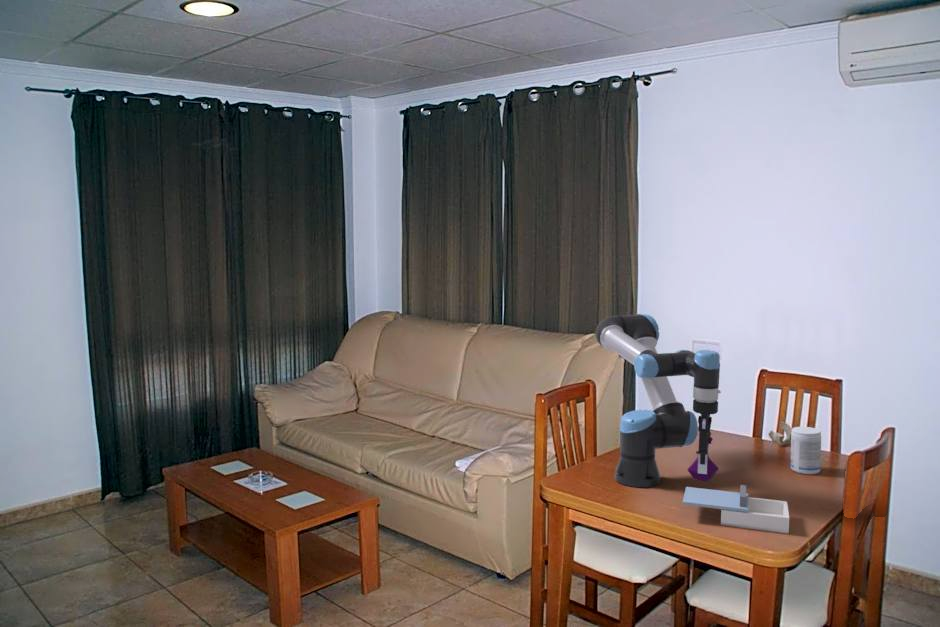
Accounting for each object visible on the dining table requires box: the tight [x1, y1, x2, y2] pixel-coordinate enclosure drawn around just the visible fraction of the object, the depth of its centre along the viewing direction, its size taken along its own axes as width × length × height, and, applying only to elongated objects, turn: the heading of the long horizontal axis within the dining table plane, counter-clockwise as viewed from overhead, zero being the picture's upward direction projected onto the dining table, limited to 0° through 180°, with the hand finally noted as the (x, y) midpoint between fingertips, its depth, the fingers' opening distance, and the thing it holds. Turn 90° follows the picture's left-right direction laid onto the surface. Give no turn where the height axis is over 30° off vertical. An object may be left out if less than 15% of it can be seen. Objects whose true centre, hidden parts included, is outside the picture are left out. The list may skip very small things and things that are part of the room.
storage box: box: [720, 496, 790, 534], centre depth 211 cm, size 18×13×4 cm
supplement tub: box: [790, 426, 822, 475], centre depth 252 cm, size 10×10×15 cm
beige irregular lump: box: [768, 421, 792, 447], centre depth 283 cm, size 9×6×10 cm
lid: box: [682, 484, 749, 512], centre depth 214 cm, size 18×13×4 cm
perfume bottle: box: [687, 431, 719, 483], centre depth 229 cm, size 8×8×18 cm
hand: (703, 468), depth 230 cm, fingers closed on perfume bottle, 9 cm apart
